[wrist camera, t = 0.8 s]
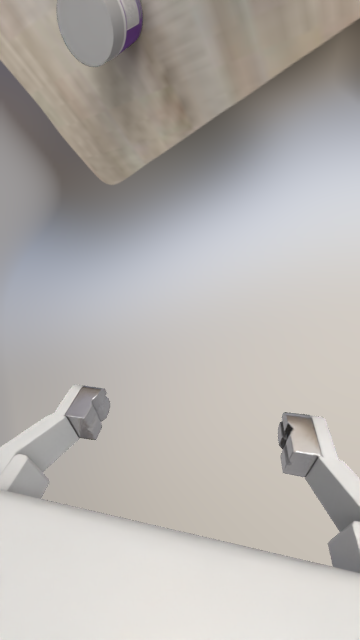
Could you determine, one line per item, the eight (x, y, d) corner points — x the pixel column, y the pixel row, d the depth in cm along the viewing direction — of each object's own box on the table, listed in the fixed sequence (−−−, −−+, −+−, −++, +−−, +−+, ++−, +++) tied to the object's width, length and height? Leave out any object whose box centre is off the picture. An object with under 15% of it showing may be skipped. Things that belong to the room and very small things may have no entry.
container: (118, 53, 31) (83, 80, 22) (94, -4, 27) (41, 1, 18) (150, 31, 29) (126, 51, 20) (129, -33, 25) (89, -42, 17)
